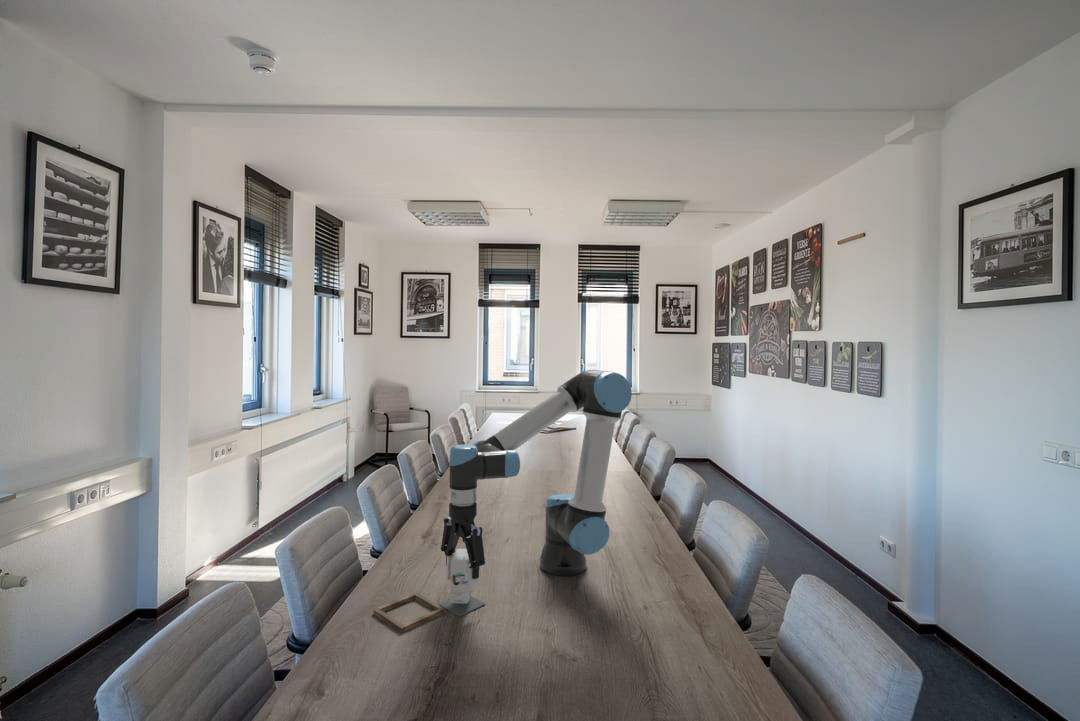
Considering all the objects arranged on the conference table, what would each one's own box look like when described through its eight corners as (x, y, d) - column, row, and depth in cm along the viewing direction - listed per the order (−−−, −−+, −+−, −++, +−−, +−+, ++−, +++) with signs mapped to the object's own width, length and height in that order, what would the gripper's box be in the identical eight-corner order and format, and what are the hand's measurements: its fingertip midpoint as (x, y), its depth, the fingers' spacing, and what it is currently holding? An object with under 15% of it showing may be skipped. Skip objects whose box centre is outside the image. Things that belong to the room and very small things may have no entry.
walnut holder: (416, 596, 148) (416, 592, 148) (445, 613, 139) (445, 608, 139) (373, 613, 138) (373, 609, 138) (401, 633, 129) (401, 628, 129)
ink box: (455, 588, 148) (456, 547, 147) (473, 589, 148) (473, 547, 147) (449, 603, 139) (450, 559, 139) (468, 604, 139) (468, 560, 139)
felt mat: (464, 594, 150) (464, 592, 150) (485, 604, 144) (485, 603, 144) (438, 605, 143) (438, 603, 143) (459, 617, 137) (459, 615, 137)
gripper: (428, 496, 147) (427, 575, 148) (478, 514, 133) (477, 602, 133) (449, 491, 153) (448, 567, 153) (499, 508, 138) (498, 592, 139)
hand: (461, 583), depth 143 cm, fingers closed on ink box, 9 cm apart
